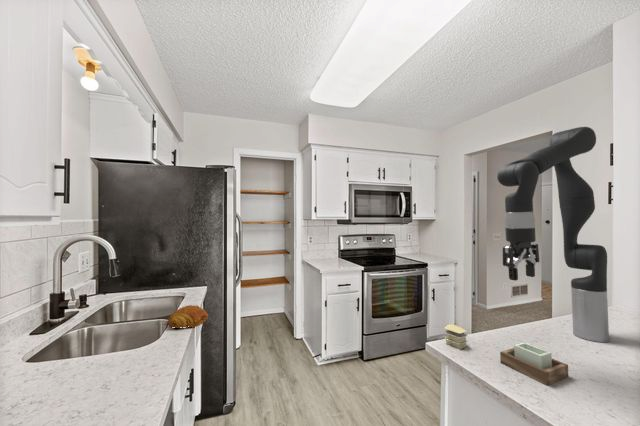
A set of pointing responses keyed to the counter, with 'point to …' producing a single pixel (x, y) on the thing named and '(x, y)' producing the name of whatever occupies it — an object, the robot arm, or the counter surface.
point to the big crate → (535, 368)
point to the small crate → (533, 355)
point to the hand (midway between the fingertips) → (522, 278)
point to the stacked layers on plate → (455, 336)
